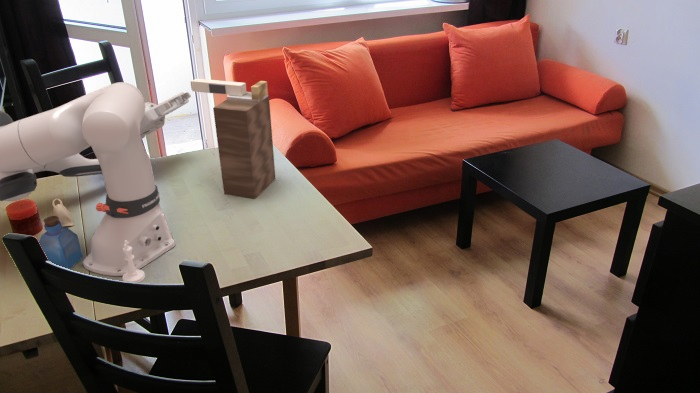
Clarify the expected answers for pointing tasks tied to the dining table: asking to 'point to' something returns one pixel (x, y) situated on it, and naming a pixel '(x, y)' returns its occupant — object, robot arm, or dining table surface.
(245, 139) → the wooden block tower
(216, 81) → the bar
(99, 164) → the robot arm
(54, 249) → the perfume bottle
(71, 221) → the decorative ornament
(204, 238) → the dining table surface
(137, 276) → the chess piece
